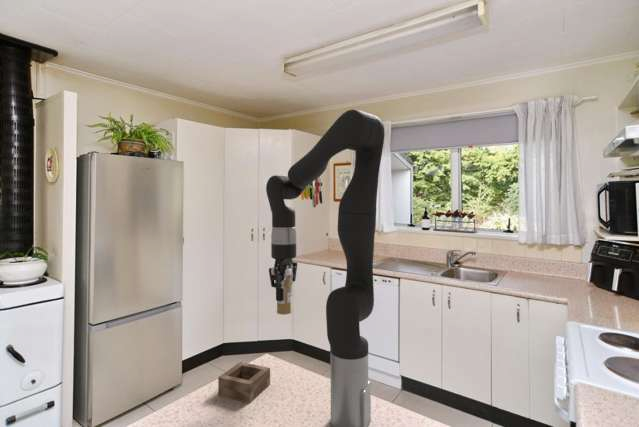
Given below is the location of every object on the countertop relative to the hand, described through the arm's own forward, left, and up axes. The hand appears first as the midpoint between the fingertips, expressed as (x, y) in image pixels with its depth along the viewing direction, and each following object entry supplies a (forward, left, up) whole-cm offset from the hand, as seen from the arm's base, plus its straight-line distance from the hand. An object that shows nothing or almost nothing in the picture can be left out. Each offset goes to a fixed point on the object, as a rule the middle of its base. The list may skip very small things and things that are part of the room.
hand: (283, 298), depth 101 cm
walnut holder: (+8, +8, -25) cm, 28 cm away
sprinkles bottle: (0, 0, -4) cm, 4 cm away
